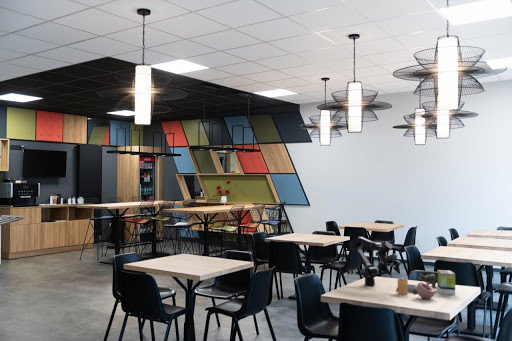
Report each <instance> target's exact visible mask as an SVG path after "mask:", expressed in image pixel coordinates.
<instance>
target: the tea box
mask: <svg viewBox="0 0 512 341" xmlns="http://www.w3.org/2000/svg"><path fill="white" fill-rule="evenodd" d="M436 272H437V273H436V280H437V281H436V291H438V293H440V294H441V295H449V296H450V295H453V296H454V295H456V273H455V272H453V271H452V270H445V269H443V270H442V269H437V271H436Z"/></svg>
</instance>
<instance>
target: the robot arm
mask: <svg viewBox="0 0 512 341" xmlns="http://www.w3.org/2000/svg"><path fill="white" fill-rule="evenodd" d="M362 245H365V246H367V247H369V248H370V249H371V250H373V252H375V256H376V257H379V259H380V261H379V263H378V264H377V265H376V266H377V267H376V266H375V264H374V263H372V264H371V263H370V261H369V260H368V258H367V256H366V254H365V253H364V252H363V250H362ZM348 247H349V248H350V250H351V251H353V252H355V254H356V255H357V257H358V258H359V259H358V260H360V262H361V263H362V265H363V268H364V270H363V271H364V272H363V274H362V277H363V278H364V286H367V287H368V286H369V287H373V286H375V285H376V283H375V282H376V281H375V278H376V276H377V274H378V270H380V271H381V272H384V273H385V274H387V275H388V276H391V275H392V274H391V272H390V269H389V268H388V267H392V268H393V270H394V271H395V272H396V273H397V274H398V275H401V271H400V265H401V261H400V260H397V258H398V256H397V255H398V254H396V253H392V254H388V253H389V252H390V251H391V249H393V244H391V243H390V242H388V241H387V240H386V241H383V243H382V242H380V241H379V242H377V241H372V240H370V239H368V238H365V237H363V236H357V237H356V238H355V239H353V240H351V241H349V243H348Z"/></svg>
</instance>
